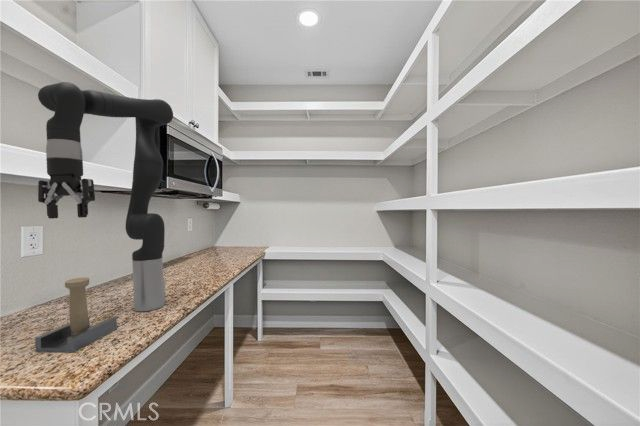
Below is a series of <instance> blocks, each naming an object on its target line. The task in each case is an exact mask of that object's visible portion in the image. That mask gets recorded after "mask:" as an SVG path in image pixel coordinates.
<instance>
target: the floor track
mask: <svg viewBox="0 0 640 426" xmlns="http://www.w3.org/2000/svg"><path fill="white" fill-rule="evenodd" d="M117 323H118V321H117V317H116V316H111V317H109V318H107V319H105V320H103V321H100V322H98V323H96V324H94V325H90V317H89V316H88V326H87V328H86V329H85V330H83V331H81V332H79V333H77V334H75V335H73V336H72V335H71V332H72V331H71V328H70V322H69V323H67V324H65V325H62V326H59V327H57V328H56V329H52V330H51V331H48V332H45V333H43V334H41V335H38V336H36V337H35V338H34V341H35V342H34V343H35V353H75V352H78V351H79V350H81V349H83V348H84V347H86V346H89V345H90V344H92V343H94V342H95V341H97V340H99V339H101V338H103V337H105V336H107V335H109V334H111V333H113V332H114V331H117V330H118V324H117Z"/></svg>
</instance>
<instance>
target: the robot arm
mask: <svg viewBox="0 0 640 426" xmlns="http://www.w3.org/2000/svg"><path fill="white" fill-rule="evenodd" d="M37 97H38V101H39V102H40V103H41V105H42V106H43V107H44V108H45V109H47V110H48V111H51V112H54V114H53V116H52V117H51V118H49V119H47V121H46V125H45V126H46V127H45V130H46V145H45V153H46V156H45V157H46V158H45V159H46V174H47V175H48V176H49V177H50V179H49V180H44V179H43V180H40V179H39V180H38V187H37V188H38V191H37V195H38V198H37V201H38V202H39V203H43V204H44V205H45V206H46V215H47V218H48V219H51V220H52V219H58V218H59V207H58V203H59V201H60V199H63V197H68V196H69V197H72V198H74V200H75V201H76V202H77V205H76V206H77V210H76V211H77V217H78V218H80V219H81V218H87V217H88V215H89V203H90V202H95V201H96V194H95V185H94V183H95V182H94V180H93V179H90V178H82V177H83V176H84V162H83V157H84V156H83V148H82V142H81V141H82V140H81V126H82V122H83V118H84V115H85V114H86V115H91V116H92V115H93V116H100V117H107V118H135V149H134V160H133V169H132V170H133V171H132V181H131V182H132V184H131V191H130V192H131V193H130V200H129V204H128V205H129V206H128V209H127V215H126V219H125V232H126V234H127V236H128V237H129V238H130V239H132V240H135V241H136V240H141V241H142V243H141V244H142V245H141V246H140V247H139V249H137V250H134V251H133V252H132V253H131V254H132V255H131V256H132V257H131V260H132V261H131V262H132V282H133V283H132V284H133V288H132V289H133V310H134V311H136V312H149V311H154V310H157V309H160V308H162V307H163V306H165V303H166V290H165V287H166V286H165V277H164V268H163V267H164V265H163V253H164V250H165V236H166V235H165V233H166V232H165V231H166V230H165V221H164V219H163V218H162V216H161V215H160V214H158V213H153V212H152V213H150V212H148V211H149V204H150V201H151V199H152V197H153V195H154V194H155V192H156V191H157V189H158V187H159V186H160V184H161V182H162V179H163V174H164V173H163V171H164V160H163V156H162V155H161V152H160V150H159V149H158V147H157V144H156V140H155V139H156V138H155V135H156V133H155V131H156V127H160V126H166V125H168V124H170V123H171V122H172V121H173V118H174V112H173V111H174V110H173V109H172V107H171V106H170V104H168V102H167V101H165V100H163V99H159V98H158V99H157V98H156V99H155V98H154V99H153V98H152V99H147V98H146V99H145V98H135V97H129V96H128V97H127V96H122V95H117V94H112V93H107V92H102V91H98V90H97V91H96V90H91V89H85V90H81V88H80V87H78V86H77V85H76V84H74V83H72V82H68V81H64V82H63V81H62V82H58V83H52V84H47V85H45V86H43V87H41V88H40V89H39V91H38V94H37Z"/></svg>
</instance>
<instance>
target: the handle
mask: <svg viewBox="0 0 640 426" xmlns="http://www.w3.org/2000/svg"><path fill="white" fill-rule="evenodd" d="M89 285H90V277H76V278H71V279H67V280H66V281H64V287H65V288H66V289H68V290H69V311H68V312H69V314H68V315H69V323H70V328H71V331H72V332H71V335H72V336H73V335H75V334H77V333H79V332H81V331H83V330H85V329H86V328H87V326H88V317H89V309H88V301H87V294H86V293H87V292H86V288H87V287H88V286H89Z"/></svg>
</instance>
